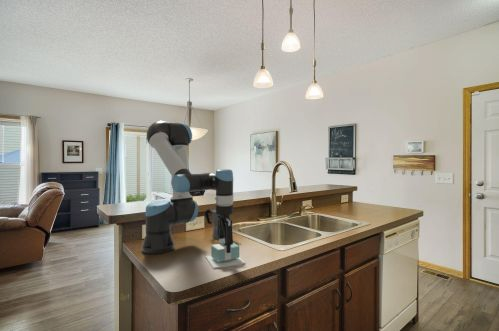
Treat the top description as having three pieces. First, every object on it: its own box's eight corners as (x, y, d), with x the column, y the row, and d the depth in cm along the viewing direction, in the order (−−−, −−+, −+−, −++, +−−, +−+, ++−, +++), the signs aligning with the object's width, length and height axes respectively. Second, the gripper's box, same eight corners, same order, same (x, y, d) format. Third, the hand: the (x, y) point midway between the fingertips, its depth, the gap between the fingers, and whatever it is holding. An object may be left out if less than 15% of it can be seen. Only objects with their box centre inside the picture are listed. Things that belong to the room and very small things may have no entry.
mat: (205, 257, 121) (205, 256, 121) (234, 253, 126) (234, 251, 126) (213, 269, 108) (213, 267, 108) (245, 263, 113) (245, 262, 113)
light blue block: (231, 252, 123) (231, 241, 123) (239, 257, 116) (239, 245, 116) (211, 256, 117) (211, 244, 117) (218, 262, 111) (218, 249, 111)
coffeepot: (232, 234, 156) (232, 204, 156) (229, 239, 147) (229, 207, 147) (207, 233, 158) (207, 203, 158) (202, 238, 149) (202, 206, 149)
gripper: (210, 201, 124) (210, 249, 125) (223, 209, 105) (223, 266, 106) (225, 200, 127) (225, 247, 128) (240, 208, 108) (241, 263, 109)
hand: (224, 256), depth 117 cm, fingers closed on light blue block, 8 cm apart
